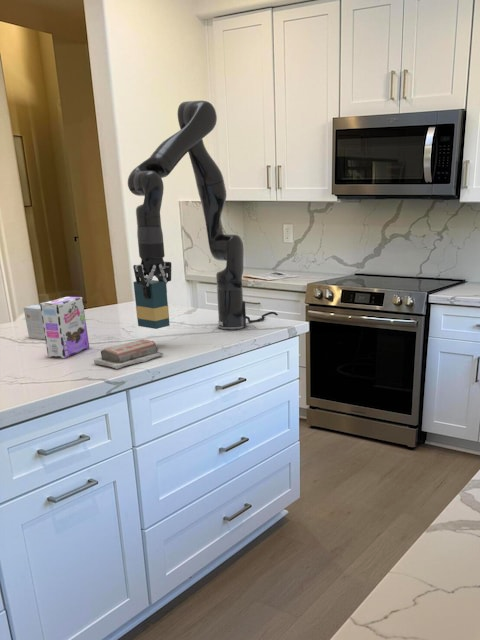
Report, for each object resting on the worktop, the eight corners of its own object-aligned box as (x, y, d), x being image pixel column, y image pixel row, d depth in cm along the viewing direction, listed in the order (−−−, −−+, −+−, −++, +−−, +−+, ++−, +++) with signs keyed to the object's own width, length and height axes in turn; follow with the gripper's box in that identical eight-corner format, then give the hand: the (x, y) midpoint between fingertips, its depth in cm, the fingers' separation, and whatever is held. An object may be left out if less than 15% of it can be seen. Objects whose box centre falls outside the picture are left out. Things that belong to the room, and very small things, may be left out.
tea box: (133, 281, 190) (151, 283, 186) (147, 279, 195) (166, 281, 191) (137, 326, 195) (156, 329, 191) (151, 322, 200) (169, 325, 196)
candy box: (64, 358, 182) (56, 303, 176) (47, 357, 183) (38, 302, 177) (90, 348, 195) (83, 296, 189) (73, 347, 196) (66, 295, 190)
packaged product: (139, 336, 189) (162, 341, 184) (140, 352, 191) (163, 356, 186) (91, 348, 175) (114, 353, 170) (93, 364, 177) (116, 369, 172)
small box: (58, 336, 209) (53, 306, 205) (45, 340, 205) (40, 308, 201) (41, 334, 212) (36, 304, 208) (28, 337, 208) (23, 306, 204)
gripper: (141, 243, 177) (147, 301, 184) (176, 240, 189) (180, 295, 195) (123, 242, 181) (129, 299, 187) (159, 239, 193) (163, 293, 199)
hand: (155, 297), depth 191 cm, fingers closed on tea box, 6 cm apart
